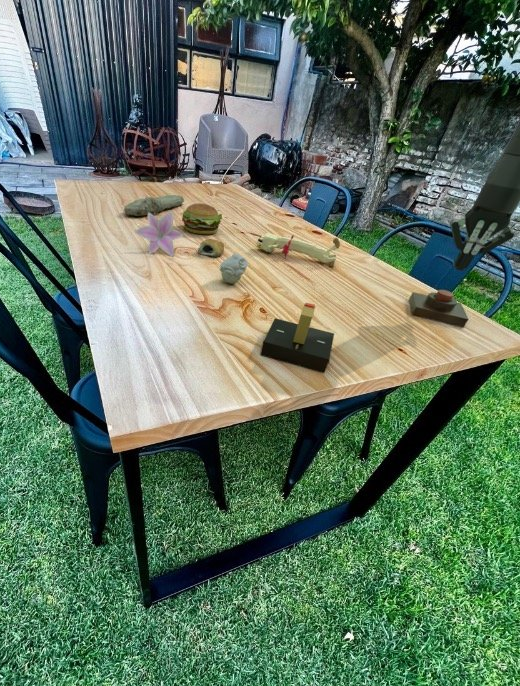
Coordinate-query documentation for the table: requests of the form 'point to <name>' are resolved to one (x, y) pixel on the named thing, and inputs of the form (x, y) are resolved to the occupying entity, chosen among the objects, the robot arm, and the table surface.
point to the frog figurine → (233, 268)
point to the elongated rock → (152, 205)
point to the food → (201, 219)
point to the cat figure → (298, 247)
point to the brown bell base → (437, 309)
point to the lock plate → (298, 346)
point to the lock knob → (304, 323)
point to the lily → (160, 233)
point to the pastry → (211, 248)
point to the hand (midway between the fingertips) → (458, 269)
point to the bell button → (444, 295)
